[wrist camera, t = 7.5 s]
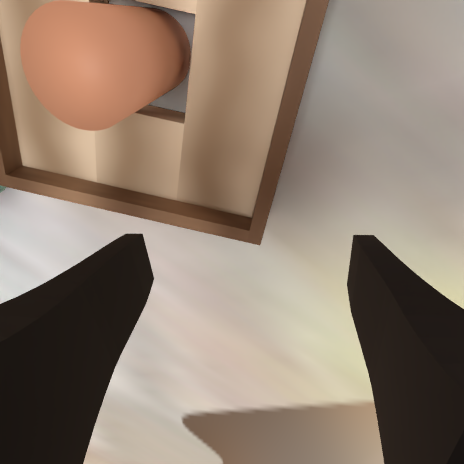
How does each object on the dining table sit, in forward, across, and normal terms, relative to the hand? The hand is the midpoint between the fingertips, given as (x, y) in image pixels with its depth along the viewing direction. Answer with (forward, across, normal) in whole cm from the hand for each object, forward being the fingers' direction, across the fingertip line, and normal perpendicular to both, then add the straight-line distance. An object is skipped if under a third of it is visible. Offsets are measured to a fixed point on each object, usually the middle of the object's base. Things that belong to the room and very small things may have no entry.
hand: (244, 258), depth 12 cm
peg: (+10, +6, -6) cm, 13 cm away
